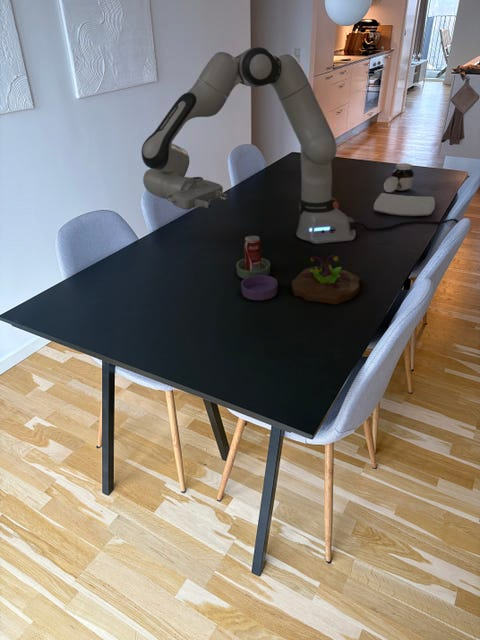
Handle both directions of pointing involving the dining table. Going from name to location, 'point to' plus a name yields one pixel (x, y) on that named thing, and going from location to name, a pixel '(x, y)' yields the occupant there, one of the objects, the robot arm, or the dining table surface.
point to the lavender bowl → (259, 287)
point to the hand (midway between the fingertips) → (218, 201)
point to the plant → (326, 283)
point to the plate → (404, 205)
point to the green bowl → (244, 273)
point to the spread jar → (400, 179)
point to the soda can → (252, 253)
